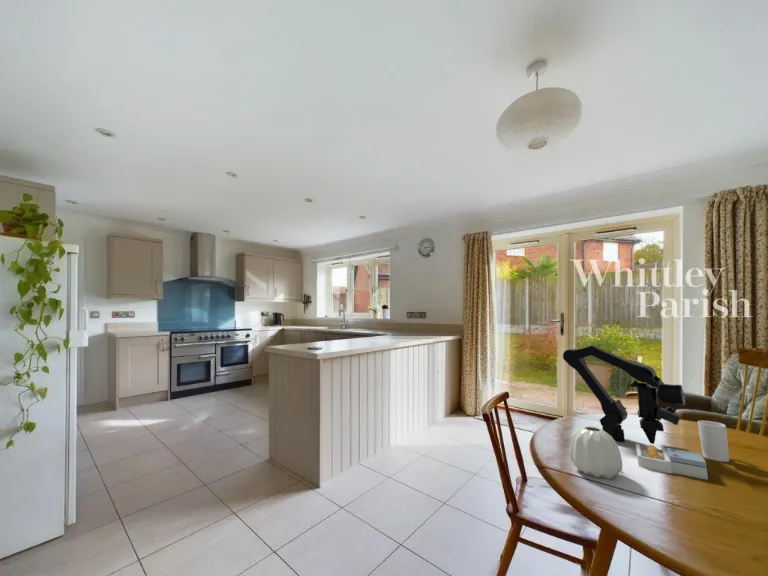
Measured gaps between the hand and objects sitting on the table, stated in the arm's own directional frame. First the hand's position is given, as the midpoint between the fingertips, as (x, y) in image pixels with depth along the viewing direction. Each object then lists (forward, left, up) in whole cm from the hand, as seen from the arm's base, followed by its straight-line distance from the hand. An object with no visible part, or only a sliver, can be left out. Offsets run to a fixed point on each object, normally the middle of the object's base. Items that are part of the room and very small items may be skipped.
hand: (652, 443), depth 116 cm
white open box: (+3, -13, -2) cm, 14 cm away
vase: (-16, -32, -3) cm, 36 cm away
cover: (+7, -17, +2) cm, 19 cm away
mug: (+17, +3, -3) cm, 17 cm away
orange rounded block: (0, -10, -2) cm, 10 cm away
